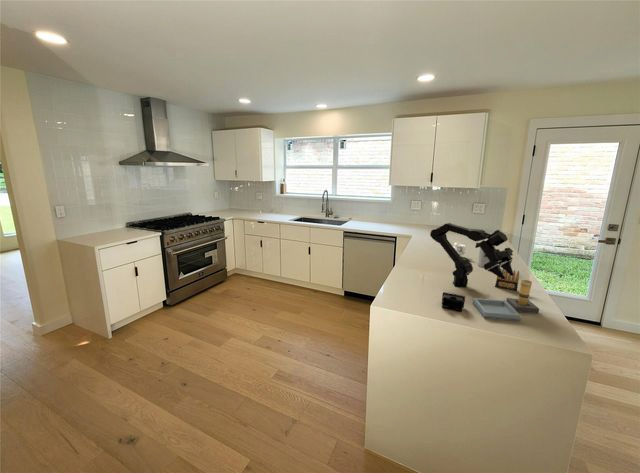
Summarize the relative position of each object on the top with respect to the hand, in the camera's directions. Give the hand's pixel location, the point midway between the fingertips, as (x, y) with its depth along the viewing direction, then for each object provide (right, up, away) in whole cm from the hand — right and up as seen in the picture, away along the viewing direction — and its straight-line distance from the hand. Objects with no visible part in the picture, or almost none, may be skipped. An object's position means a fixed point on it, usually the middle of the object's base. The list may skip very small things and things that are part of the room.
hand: (508, 277), depth 145 cm
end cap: (-30, -15, -4) cm, 34 cm away
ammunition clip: (+11, -10, +19) cm, 24 cm away
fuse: (+4, -15, -4) cm, 16 cm away
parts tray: (-12, -16, -8) cm, 21 cm away
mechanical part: (+10, +4, +76) cm, 77 cm away
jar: (+20, -1, +56) cm, 60 cm away
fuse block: (+4, -15, -4) cm, 16 cm away
